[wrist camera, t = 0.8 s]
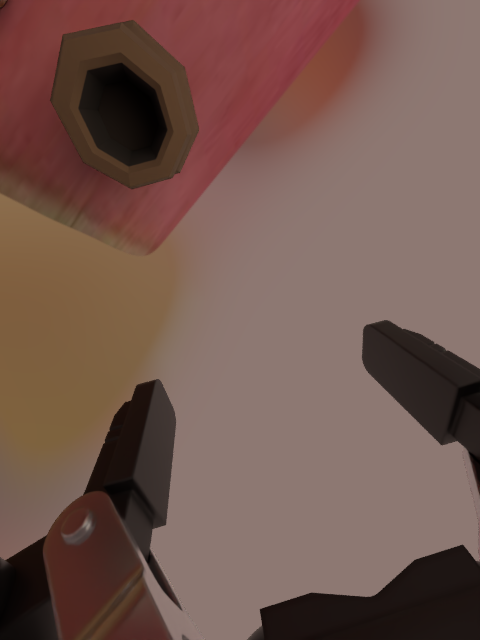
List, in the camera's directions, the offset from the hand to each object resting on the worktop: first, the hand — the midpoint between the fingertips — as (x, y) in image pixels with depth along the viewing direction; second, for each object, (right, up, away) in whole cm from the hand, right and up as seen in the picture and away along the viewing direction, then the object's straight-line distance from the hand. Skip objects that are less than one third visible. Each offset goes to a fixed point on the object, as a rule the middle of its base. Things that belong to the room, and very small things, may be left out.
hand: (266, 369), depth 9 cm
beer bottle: (-11, +23, +15) cm, 29 cm away
